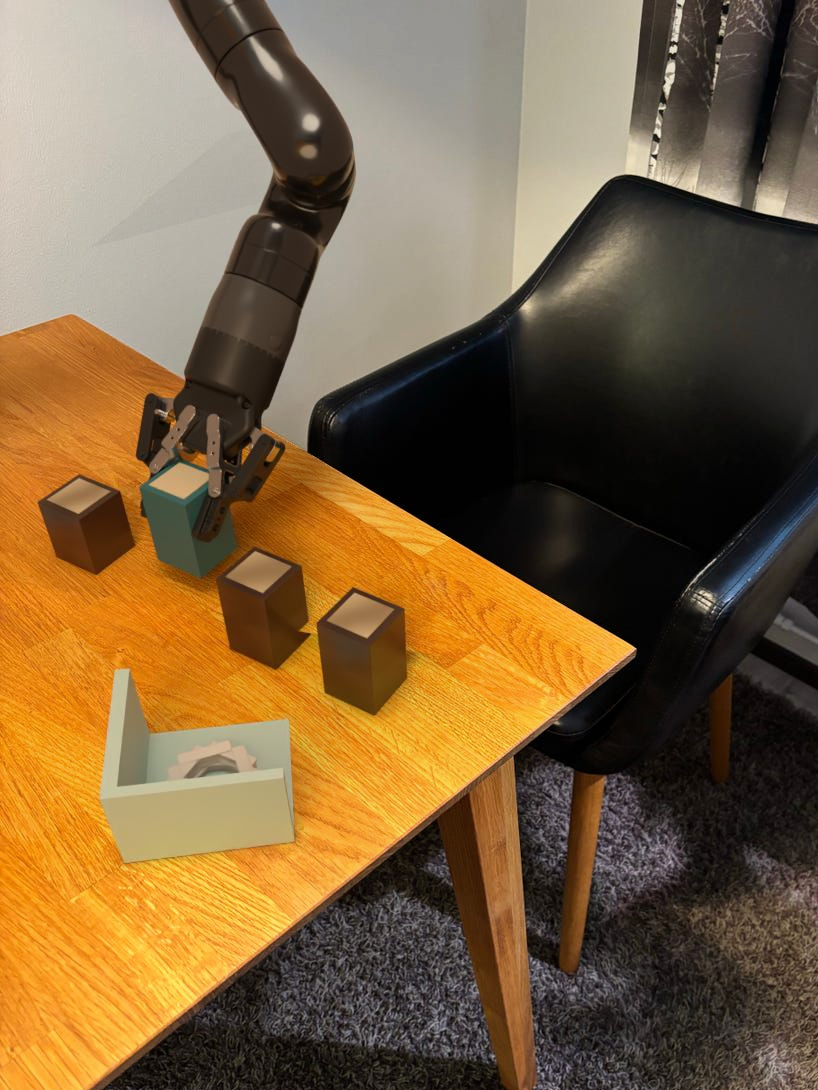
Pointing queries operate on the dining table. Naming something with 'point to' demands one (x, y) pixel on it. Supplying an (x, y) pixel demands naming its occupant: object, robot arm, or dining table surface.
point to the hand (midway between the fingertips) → (175, 528)
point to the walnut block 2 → (264, 606)
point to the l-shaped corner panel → (193, 783)
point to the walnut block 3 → (363, 650)
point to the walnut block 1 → (87, 523)
